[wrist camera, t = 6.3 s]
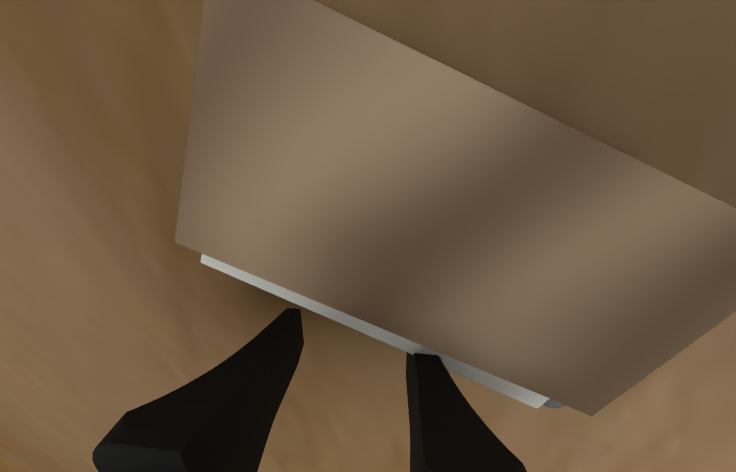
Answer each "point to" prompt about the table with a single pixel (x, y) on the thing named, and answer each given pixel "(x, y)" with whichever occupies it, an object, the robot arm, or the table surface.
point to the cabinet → (442, 206)
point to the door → (388, 337)
